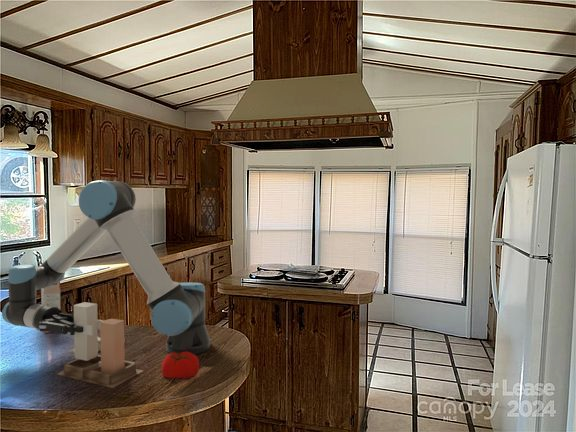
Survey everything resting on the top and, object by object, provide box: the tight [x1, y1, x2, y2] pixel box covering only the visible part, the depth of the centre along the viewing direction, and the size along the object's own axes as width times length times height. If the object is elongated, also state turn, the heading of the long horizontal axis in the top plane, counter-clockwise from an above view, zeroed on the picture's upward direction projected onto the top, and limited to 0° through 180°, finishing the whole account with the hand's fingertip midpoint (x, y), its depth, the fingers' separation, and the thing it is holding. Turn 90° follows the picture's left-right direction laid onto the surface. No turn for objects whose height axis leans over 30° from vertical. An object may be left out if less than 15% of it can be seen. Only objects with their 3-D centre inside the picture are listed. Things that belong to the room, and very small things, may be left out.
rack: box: [55, 354, 144, 389], centre depth 124 cm, size 22×12×4 cm, turn 67°
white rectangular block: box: [73, 301, 99, 361], centre depth 125 cm, size 4×5×16 cm
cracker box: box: [40, 281, 61, 334], centre depth 167 cm, size 14×6×21 cm, turn 34°
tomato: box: [161, 351, 200, 380], centre depth 125 cm, size 10×11×6 cm
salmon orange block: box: [99, 318, 126, 374], centre depth 122 cm, size 4×5×16 cm
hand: (99, 328), depth 123 cm, fingers closed on white rectangular block, 4 cm apart
